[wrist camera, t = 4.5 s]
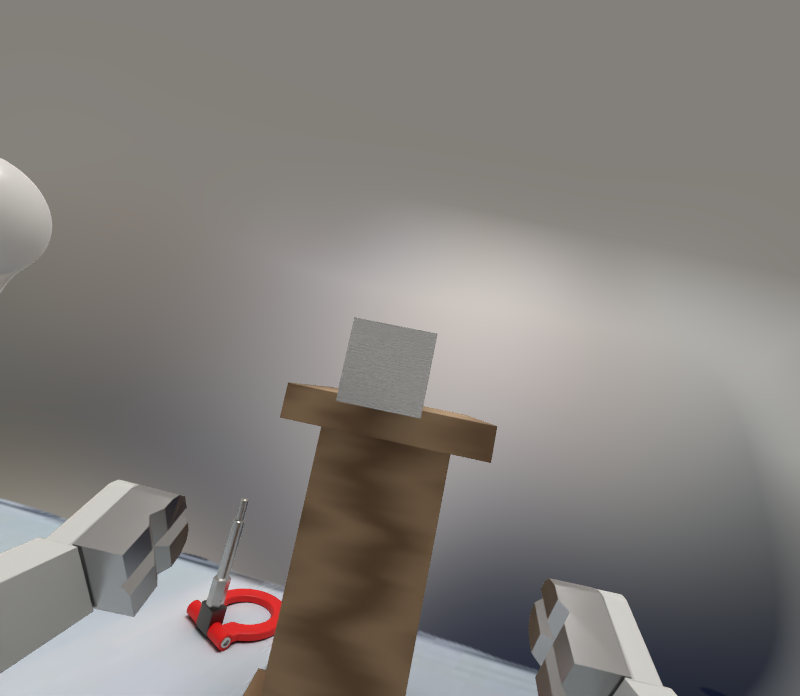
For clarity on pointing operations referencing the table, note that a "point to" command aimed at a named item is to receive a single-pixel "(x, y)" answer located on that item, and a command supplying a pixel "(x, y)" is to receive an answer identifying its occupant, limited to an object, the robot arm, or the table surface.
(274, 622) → the tow hook
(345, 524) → the walnut stand
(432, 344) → the metal block
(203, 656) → the table surface
